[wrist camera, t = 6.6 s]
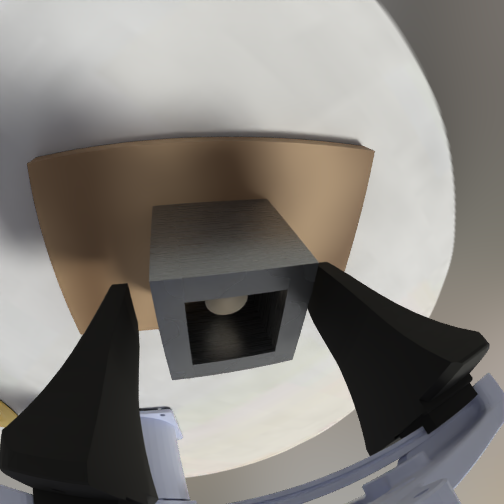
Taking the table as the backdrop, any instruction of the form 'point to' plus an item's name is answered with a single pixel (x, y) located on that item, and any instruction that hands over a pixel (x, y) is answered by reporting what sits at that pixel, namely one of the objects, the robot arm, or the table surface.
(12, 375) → the table surface
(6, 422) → the cup
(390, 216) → the table surface
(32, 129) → the table surface
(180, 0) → the table surface
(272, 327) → the grey hollow cube
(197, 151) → the keeper board
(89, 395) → the robot arm
